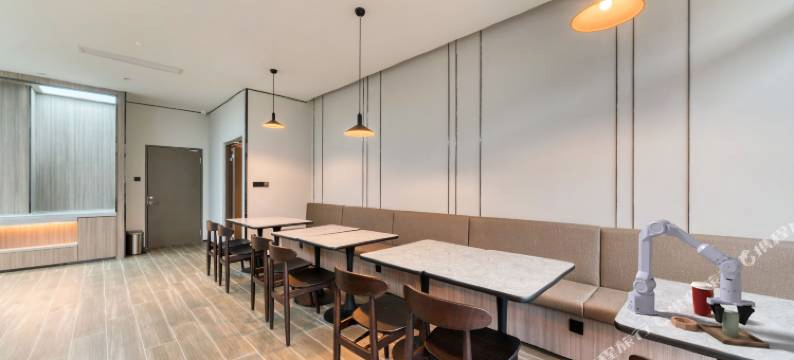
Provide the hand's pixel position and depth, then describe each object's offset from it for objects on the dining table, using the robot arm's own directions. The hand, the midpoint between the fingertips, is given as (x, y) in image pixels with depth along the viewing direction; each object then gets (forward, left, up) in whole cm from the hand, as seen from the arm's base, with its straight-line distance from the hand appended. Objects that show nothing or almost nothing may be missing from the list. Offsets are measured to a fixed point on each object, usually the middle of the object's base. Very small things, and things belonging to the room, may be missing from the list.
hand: (730, 323), depth 120 cm
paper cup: (+4, +21, -5) cm, 22 cm away
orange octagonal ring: (-12, +6, -5) cm, 14 cm away
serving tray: (0, 0, -5) cm, 5 cm away
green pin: (0, 0, -5) cm, 5 cm away
